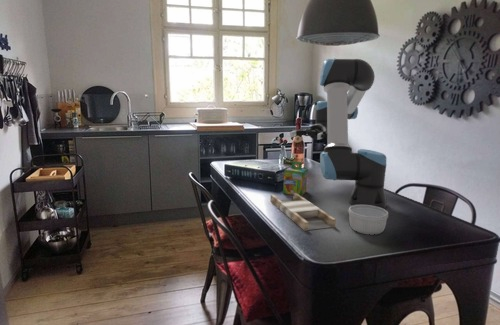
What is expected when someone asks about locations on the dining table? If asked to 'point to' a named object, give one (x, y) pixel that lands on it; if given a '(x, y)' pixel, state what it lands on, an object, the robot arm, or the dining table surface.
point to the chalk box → (295, 179)
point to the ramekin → (367, 219)
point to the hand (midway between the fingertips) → (304, 135)
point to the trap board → (304, 213)
